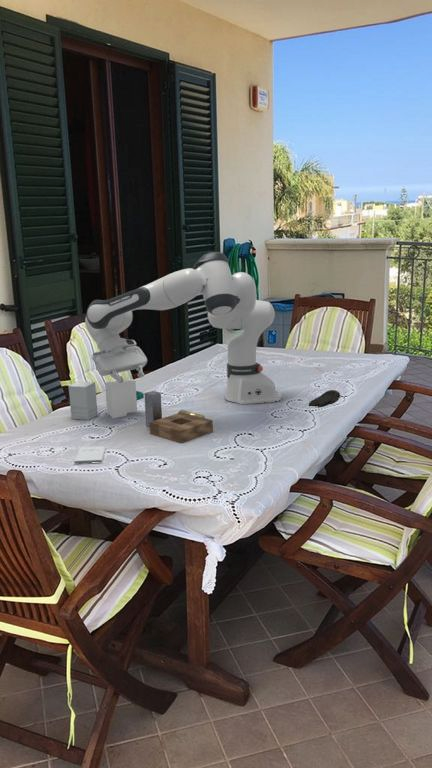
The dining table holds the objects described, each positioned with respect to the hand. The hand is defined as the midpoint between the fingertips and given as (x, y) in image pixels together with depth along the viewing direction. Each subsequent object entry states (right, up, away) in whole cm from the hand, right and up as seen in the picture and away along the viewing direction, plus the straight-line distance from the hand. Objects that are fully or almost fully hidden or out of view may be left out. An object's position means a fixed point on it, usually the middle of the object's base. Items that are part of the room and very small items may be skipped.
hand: (131, 379), depth 233 cm
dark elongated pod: (+73, -9, +23) cm, 77 cm away
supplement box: (-19, -14, +9) cm, 25 cm away
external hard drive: (-8, -25, -32) cm, 41 cm away
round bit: (+22, -14, 0) cm, 27 cm away
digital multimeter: (-6, -9, +29) cm, 31 cm away
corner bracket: (-6, -12, +14) cm, 20 cm away
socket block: (+18, -18, -12) cm, 28 cm away
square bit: (+8, -16, -4) cm, 19 cm away
